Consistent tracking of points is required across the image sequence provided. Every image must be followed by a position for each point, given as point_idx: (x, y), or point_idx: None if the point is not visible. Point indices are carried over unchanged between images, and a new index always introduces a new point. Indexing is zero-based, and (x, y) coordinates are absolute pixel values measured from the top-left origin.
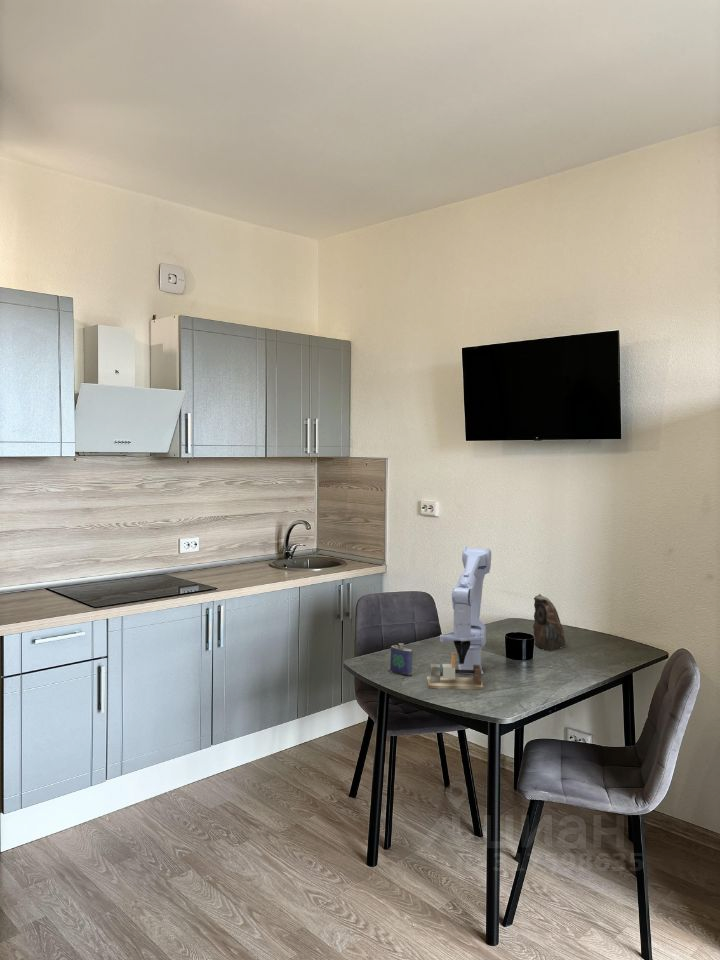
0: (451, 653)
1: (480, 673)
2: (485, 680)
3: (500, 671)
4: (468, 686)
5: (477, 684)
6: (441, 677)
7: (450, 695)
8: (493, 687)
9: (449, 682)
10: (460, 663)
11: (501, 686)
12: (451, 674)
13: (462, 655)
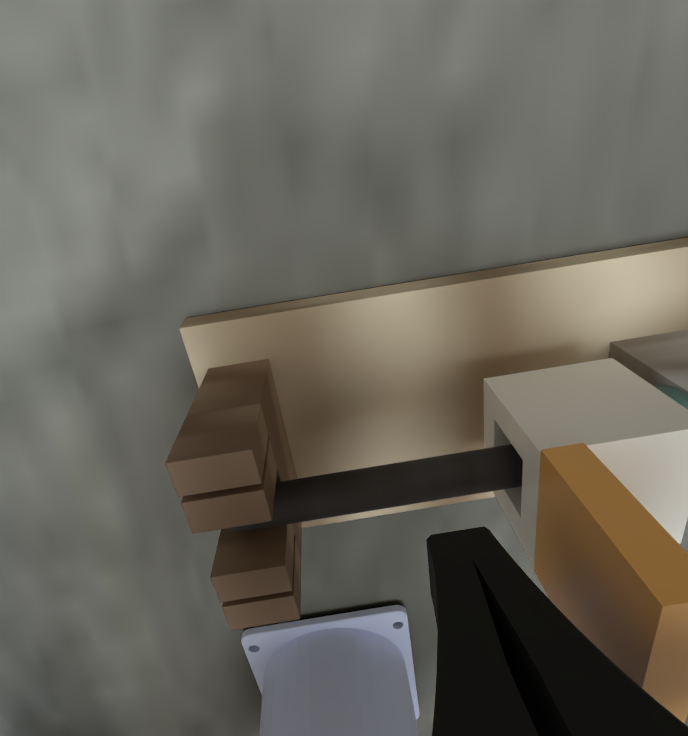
0: (670, 707)
1: (188, 434)
2: (207, 536)
3: (137, 698)
4: (331, 303)
5: (243, 364)
6: None
7: (524, 42)
8: (105, 401)
9: (517, 371)
10: (480, 529)
11: (42, 441)
12: (542, 395)
13: (500, 661)
